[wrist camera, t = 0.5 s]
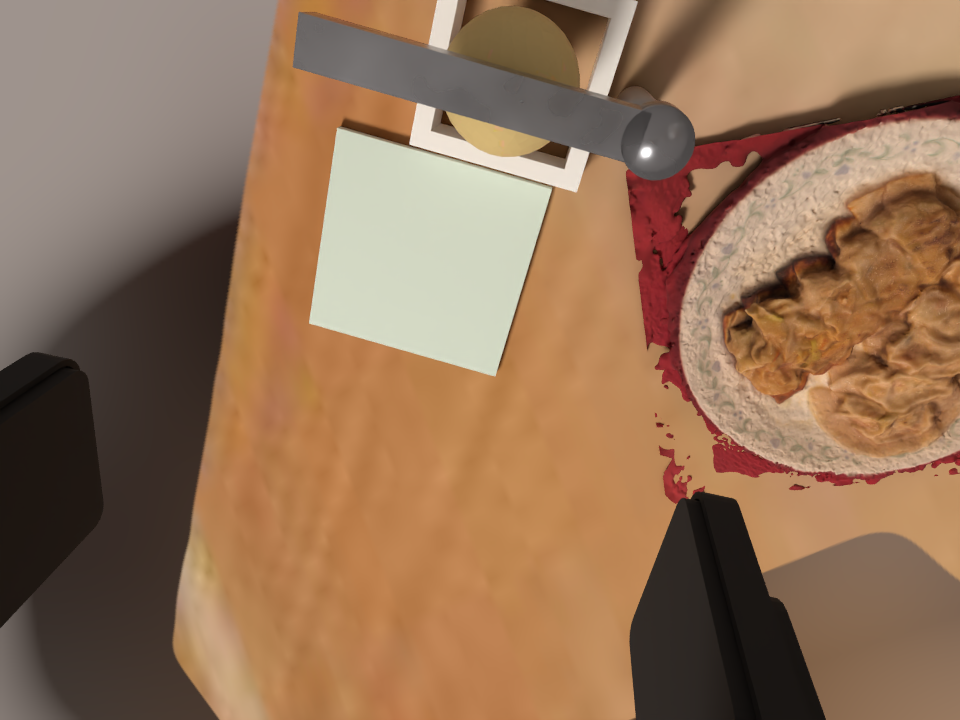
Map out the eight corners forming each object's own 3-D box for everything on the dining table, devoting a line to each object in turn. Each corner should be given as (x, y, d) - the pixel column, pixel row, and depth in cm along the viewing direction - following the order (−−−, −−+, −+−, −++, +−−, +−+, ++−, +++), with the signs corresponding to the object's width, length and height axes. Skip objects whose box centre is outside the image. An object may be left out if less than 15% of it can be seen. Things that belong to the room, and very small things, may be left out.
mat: (340, 126, 40) (337, 127, 39) (552, 187, 40) (551, 189, 39) (312, 319, 46) (309, 323, 46) (496, 372, 46) (495, 376, 46)
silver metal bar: (316, 1, 27) (300, 0, 26) (699, 111, 27) (706, 117, 26) (307, 74, 28) (291, 78, 27) (673, 179, 29) (678, 188, 27)
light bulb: (509, 156, 40) (490, 196, 31) (440, 62, 38) (398, 76, 29) (602, 84, 37) (609, 105, 28) (532, -21, 35) (518, -32, 26)
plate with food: (623, 154, 40) (625, 168, 36) (1168, 51, 33) (1227, 56, 30) (663, 489, 50) (668, 521, 47) (1083, 457, 44) (1119, 492, 41)
